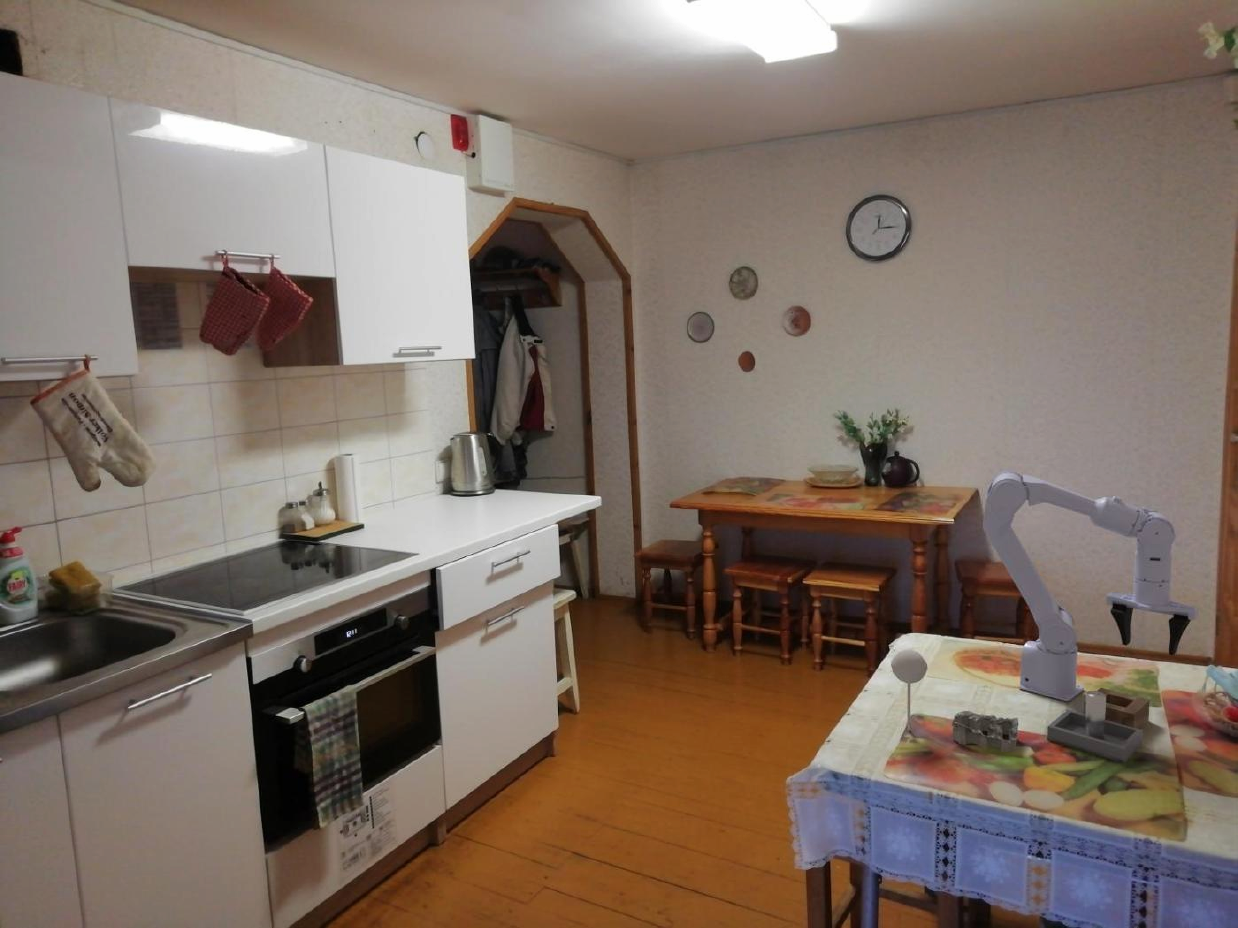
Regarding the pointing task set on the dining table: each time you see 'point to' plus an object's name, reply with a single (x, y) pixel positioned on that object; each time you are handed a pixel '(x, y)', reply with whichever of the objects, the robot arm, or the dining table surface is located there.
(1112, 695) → the holder
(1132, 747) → the tray
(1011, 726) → the egg carton
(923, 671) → the lollipop
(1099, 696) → the pin
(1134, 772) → the dining table surface
